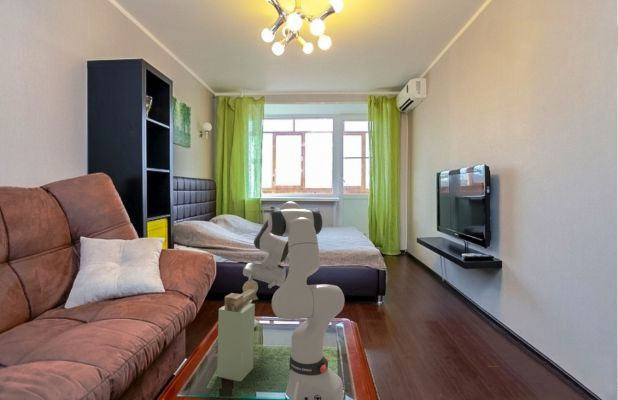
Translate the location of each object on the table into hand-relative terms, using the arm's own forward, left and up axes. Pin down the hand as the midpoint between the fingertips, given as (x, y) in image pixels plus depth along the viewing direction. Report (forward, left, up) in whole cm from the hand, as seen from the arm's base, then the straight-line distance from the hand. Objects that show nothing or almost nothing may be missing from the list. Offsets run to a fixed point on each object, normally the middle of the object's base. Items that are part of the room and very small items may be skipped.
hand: (259, 283), depth 153 cm
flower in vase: (+13, -14, -28) cm, 34 cm away
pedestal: (-2, +24, -28) cm, 37 cm away
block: (-2, +20, -2) cm, 20 cm away
